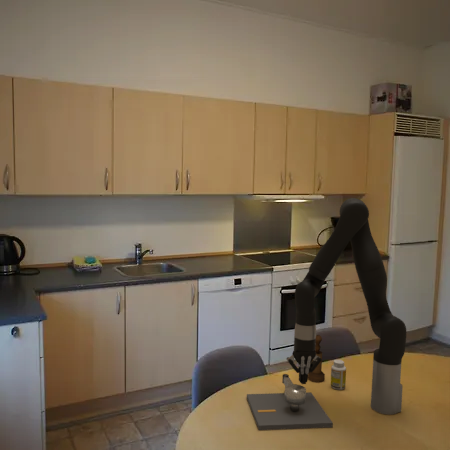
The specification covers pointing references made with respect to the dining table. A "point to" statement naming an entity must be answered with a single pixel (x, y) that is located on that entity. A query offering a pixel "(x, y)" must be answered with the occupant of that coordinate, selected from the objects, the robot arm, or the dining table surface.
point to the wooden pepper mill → (317, 373)
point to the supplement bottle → (338, 375)
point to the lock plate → (286, 412)
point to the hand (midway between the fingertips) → (302, 383)
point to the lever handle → (293, 393)
